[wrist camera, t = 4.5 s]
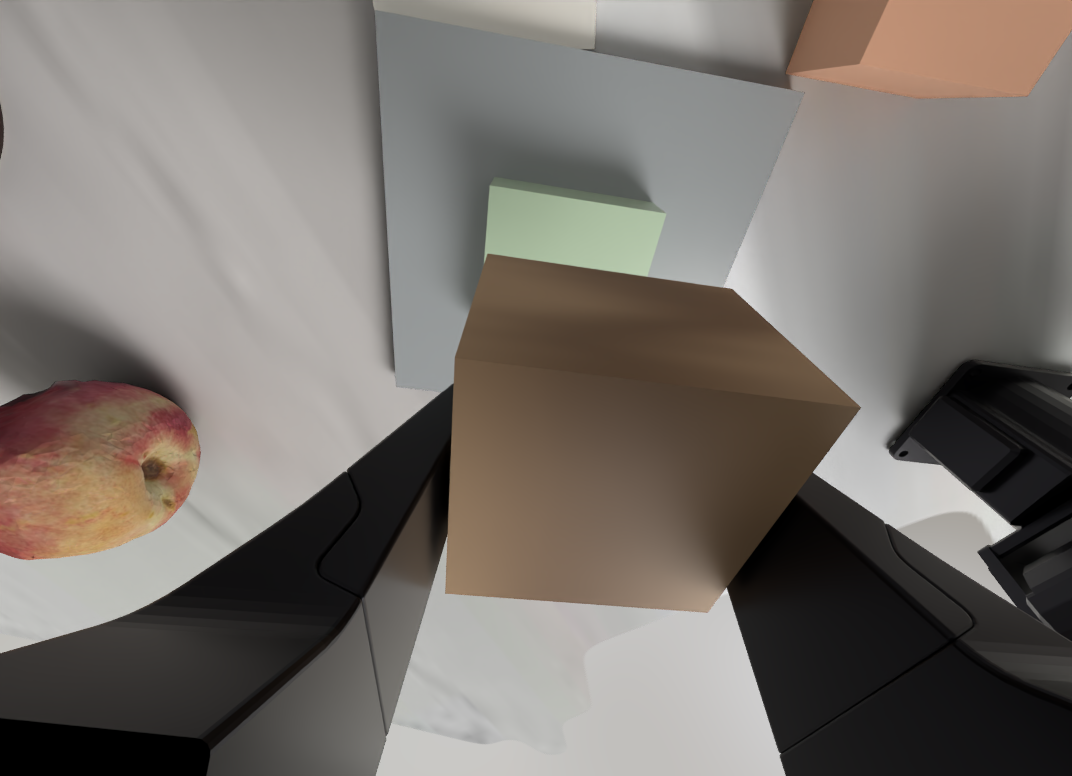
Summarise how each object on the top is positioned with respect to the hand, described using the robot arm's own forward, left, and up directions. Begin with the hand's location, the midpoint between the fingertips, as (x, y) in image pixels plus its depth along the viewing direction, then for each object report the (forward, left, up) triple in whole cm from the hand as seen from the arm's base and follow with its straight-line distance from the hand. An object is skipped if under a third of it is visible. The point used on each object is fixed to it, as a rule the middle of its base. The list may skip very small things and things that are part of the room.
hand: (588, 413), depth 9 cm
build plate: (0, 0, -10) cm, 11 cm away
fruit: (+20, +11, -11) cm, 25 cm away
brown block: (0, 0, -1) cm, 1 cm away
